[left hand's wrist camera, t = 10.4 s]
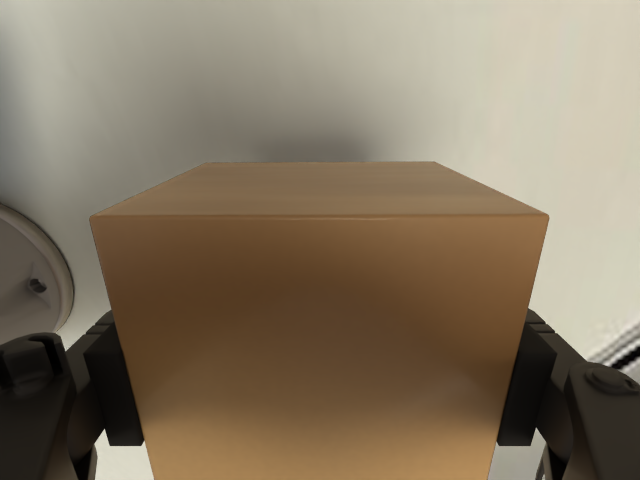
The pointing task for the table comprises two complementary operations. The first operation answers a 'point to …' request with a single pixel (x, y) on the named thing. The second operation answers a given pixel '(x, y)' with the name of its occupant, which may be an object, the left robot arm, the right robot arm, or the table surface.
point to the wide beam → (320, 318)
